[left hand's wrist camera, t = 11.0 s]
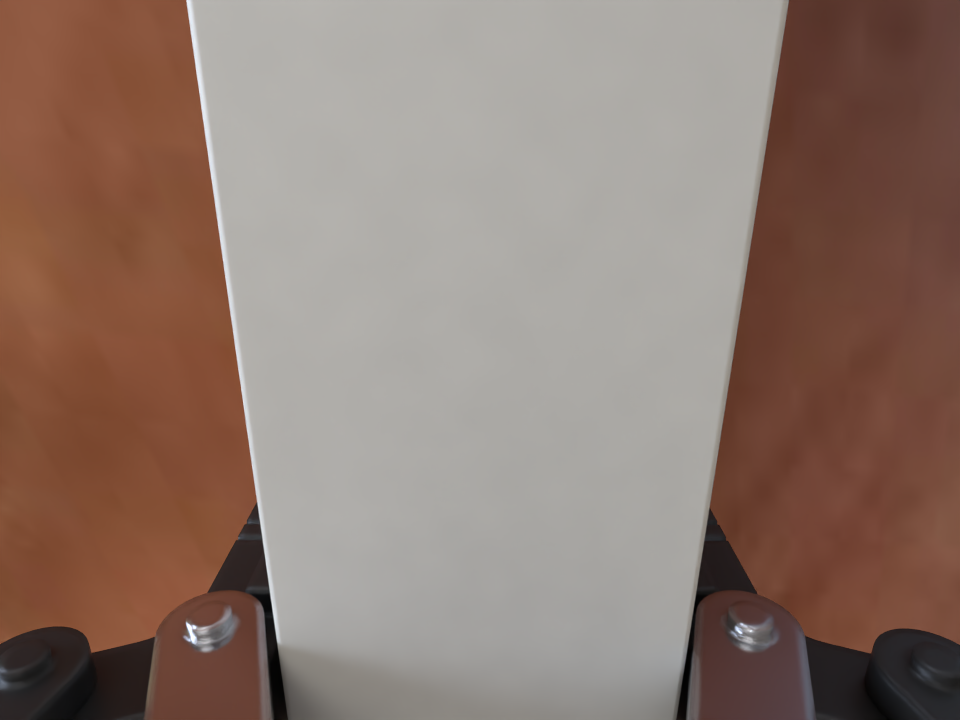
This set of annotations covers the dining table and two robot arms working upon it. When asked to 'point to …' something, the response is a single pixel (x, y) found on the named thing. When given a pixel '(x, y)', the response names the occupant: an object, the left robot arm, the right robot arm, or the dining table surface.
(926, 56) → the dining table surface
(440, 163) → the bar
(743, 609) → the left robot arm
